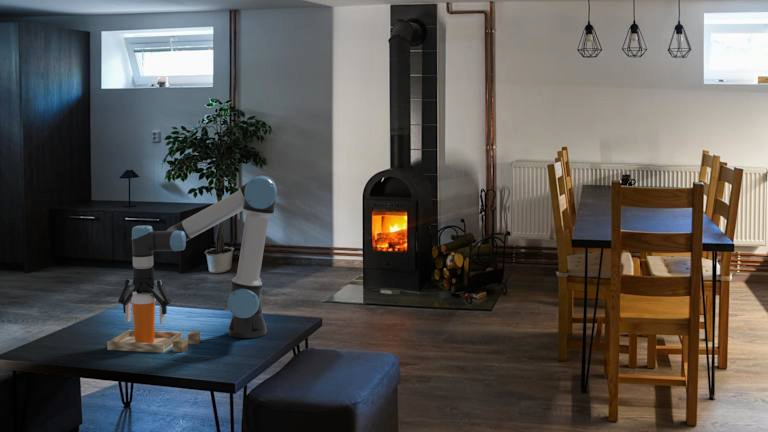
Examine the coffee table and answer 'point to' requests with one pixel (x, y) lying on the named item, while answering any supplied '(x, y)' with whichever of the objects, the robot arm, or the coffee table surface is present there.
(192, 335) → the oak block
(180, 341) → the oak block
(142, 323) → the shaker bottle
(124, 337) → the tray
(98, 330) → the coffee table surface
